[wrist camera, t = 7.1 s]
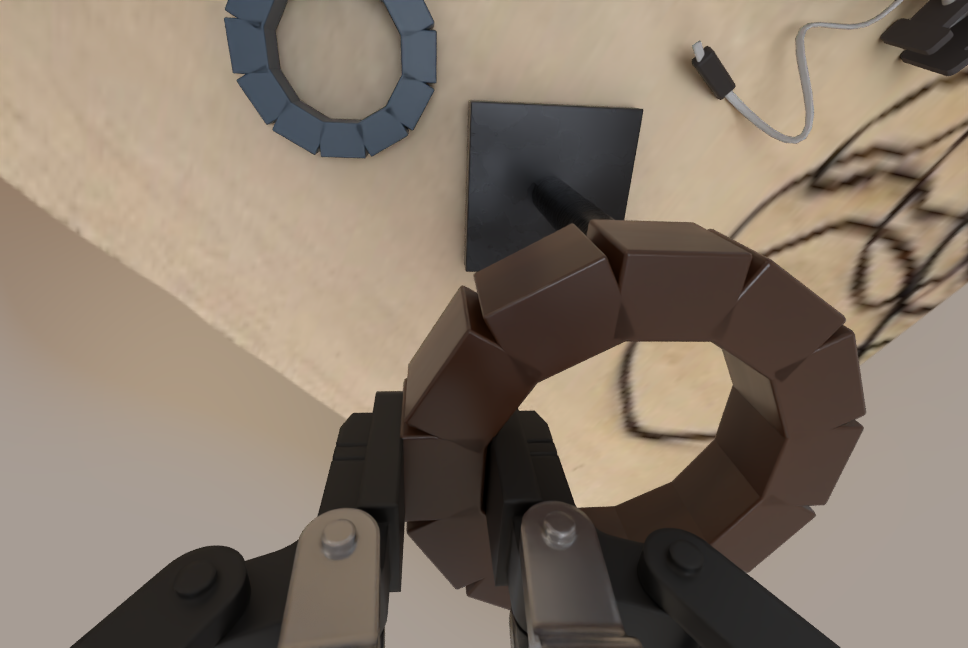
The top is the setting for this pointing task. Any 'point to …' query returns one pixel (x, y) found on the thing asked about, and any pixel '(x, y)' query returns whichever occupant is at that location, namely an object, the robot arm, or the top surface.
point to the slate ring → (275, 100)
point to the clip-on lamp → (926, 37)
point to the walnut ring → (609, 322)
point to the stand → (543, 172)
